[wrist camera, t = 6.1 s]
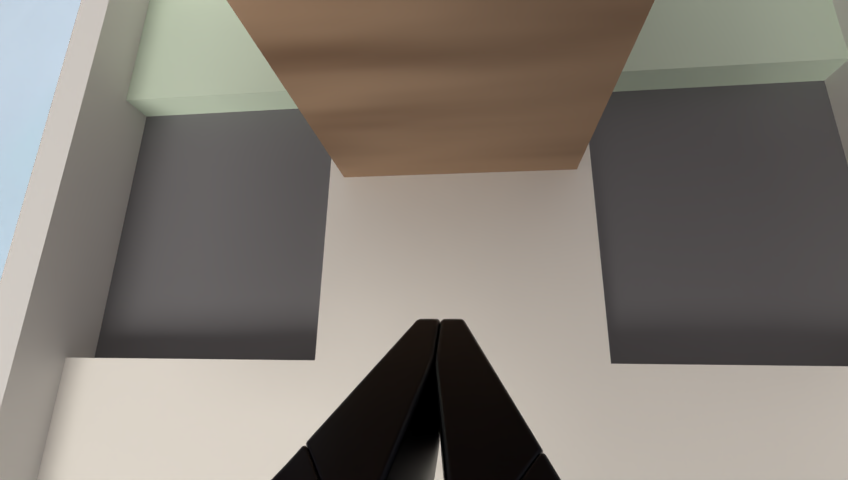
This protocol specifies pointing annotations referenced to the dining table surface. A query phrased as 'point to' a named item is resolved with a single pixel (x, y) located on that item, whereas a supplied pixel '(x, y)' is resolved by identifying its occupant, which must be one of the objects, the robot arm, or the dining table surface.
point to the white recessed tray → (434, 259)
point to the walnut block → (447, 78)
